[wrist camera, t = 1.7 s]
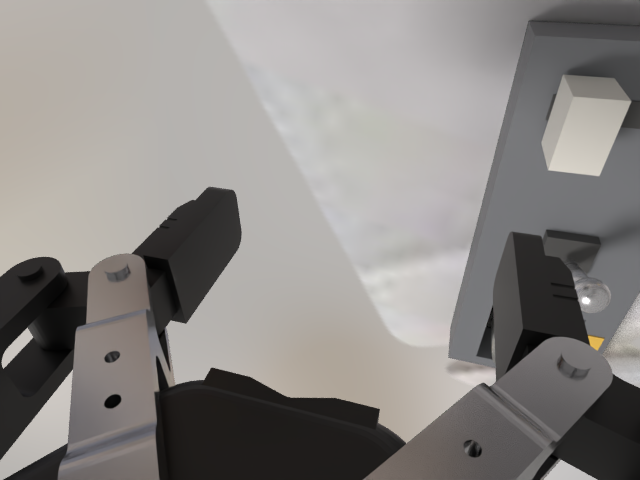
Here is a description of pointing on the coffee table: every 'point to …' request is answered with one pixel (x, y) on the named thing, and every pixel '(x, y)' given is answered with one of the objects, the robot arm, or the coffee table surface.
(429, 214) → the coffee table surface
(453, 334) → the panel
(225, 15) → the coffee table surface
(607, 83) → the slider
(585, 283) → the toggle
